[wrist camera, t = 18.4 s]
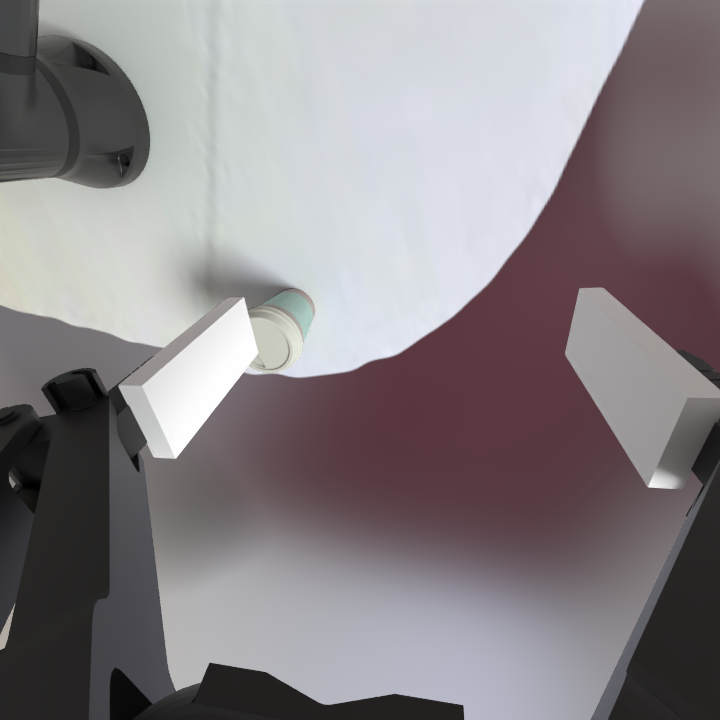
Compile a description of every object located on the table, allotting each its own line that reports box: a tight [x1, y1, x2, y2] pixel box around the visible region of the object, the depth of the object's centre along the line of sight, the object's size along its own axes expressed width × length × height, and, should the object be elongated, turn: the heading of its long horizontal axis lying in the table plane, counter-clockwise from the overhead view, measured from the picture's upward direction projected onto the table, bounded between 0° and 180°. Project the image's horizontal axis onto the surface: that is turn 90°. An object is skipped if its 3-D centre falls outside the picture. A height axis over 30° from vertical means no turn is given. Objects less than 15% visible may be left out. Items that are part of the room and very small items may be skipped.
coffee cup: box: [247, 289, 315, 373], centre depth 49 cm, size 8×9×12 cm
